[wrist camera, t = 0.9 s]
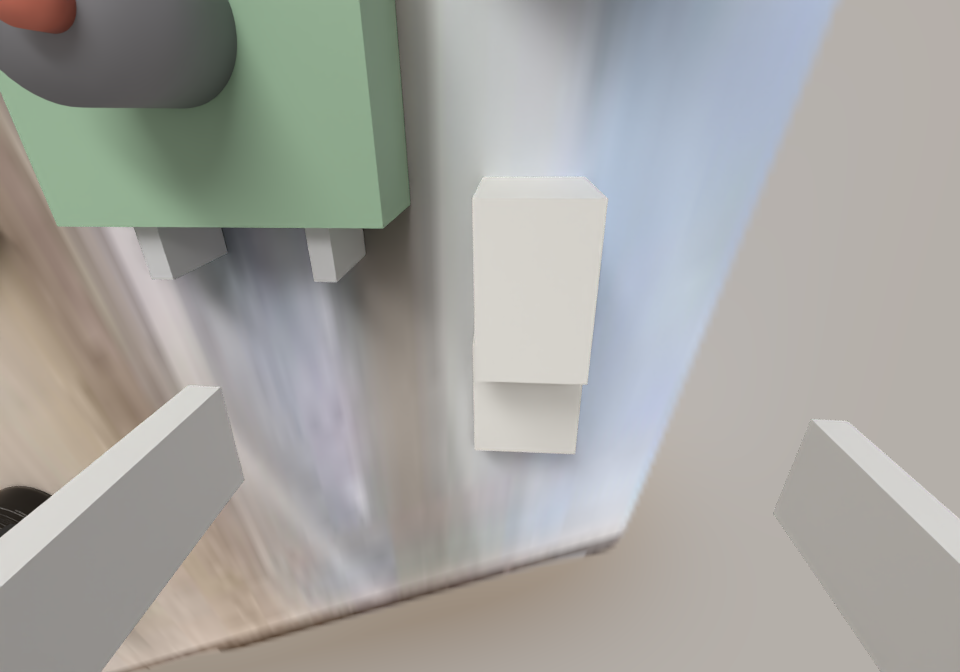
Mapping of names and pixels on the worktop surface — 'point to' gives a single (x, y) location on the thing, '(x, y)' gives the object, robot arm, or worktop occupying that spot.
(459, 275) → the worktop surface
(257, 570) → the worktop surface
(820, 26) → the worktop surface
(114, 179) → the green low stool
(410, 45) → the worktop surface
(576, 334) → the stepped white pillar
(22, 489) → the supplement bottle
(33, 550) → the robot arm
